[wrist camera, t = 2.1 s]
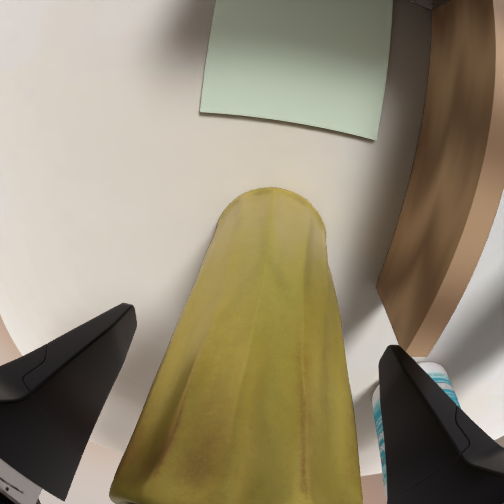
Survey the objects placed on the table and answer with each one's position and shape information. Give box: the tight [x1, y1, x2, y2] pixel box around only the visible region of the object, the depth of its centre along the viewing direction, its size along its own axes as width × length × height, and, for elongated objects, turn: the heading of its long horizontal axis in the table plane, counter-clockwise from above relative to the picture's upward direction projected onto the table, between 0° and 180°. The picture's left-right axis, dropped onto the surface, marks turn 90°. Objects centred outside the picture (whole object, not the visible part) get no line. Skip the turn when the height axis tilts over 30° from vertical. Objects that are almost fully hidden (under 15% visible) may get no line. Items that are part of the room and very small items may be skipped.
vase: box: [109, 187, 363, 504], centre depth 10 cm, size 6×6×14 cm
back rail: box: [376, 0, 504, 357], centre depth 10 cm, size 20×2×6 cm, turn 173°
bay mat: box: [200, 0, 393, 140], centre depth 11 cm, size 9×9×1 cm
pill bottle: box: [372, 362, 460, 498], centre depth 15 cm, size 8×7×14 cm
